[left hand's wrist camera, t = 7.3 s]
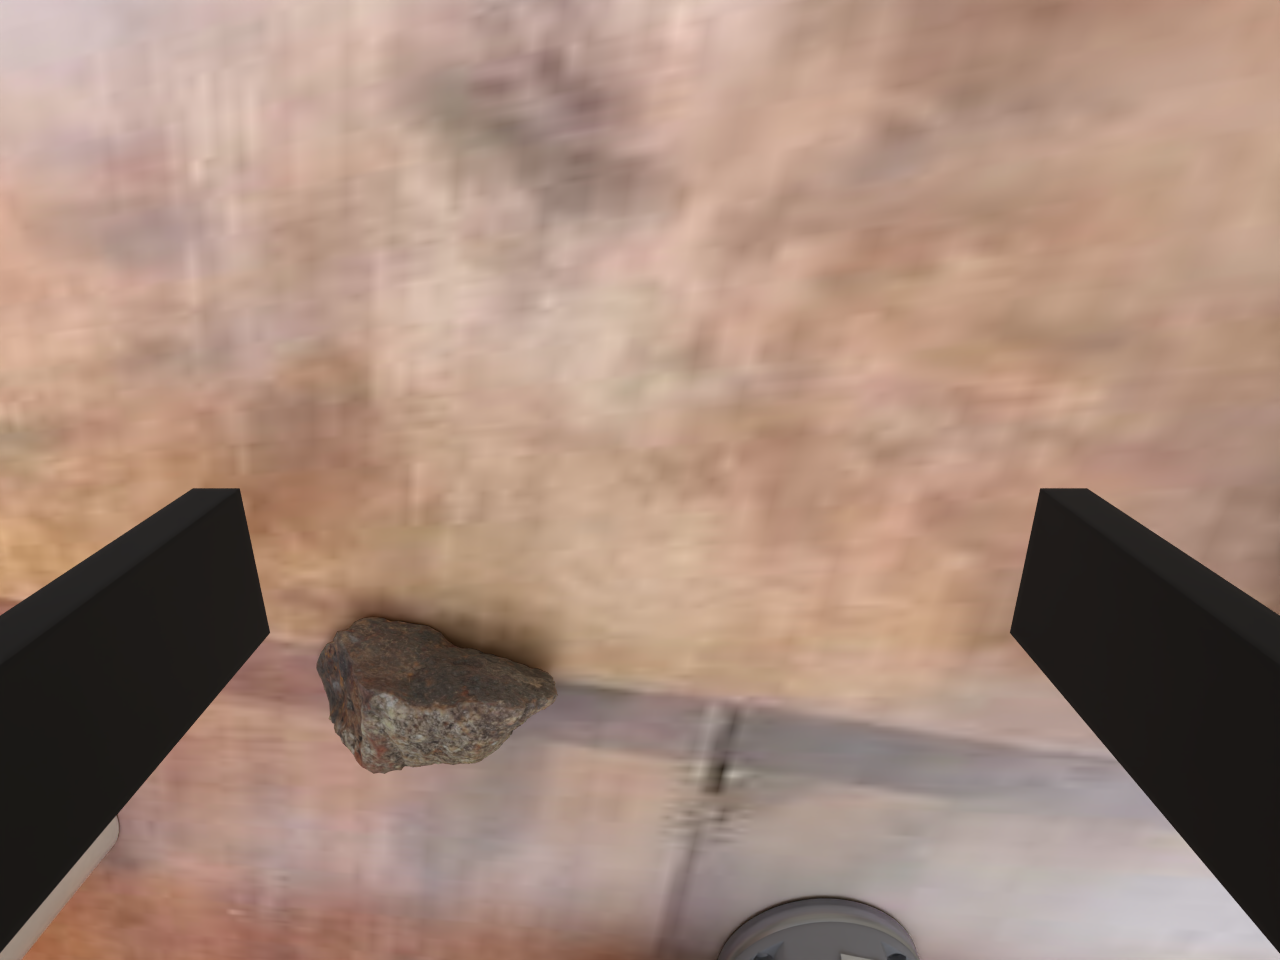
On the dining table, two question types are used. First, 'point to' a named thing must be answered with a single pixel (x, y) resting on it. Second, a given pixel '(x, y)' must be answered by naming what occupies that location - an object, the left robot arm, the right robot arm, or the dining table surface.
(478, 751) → the rock
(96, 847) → the jar
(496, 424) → the dining table surface
